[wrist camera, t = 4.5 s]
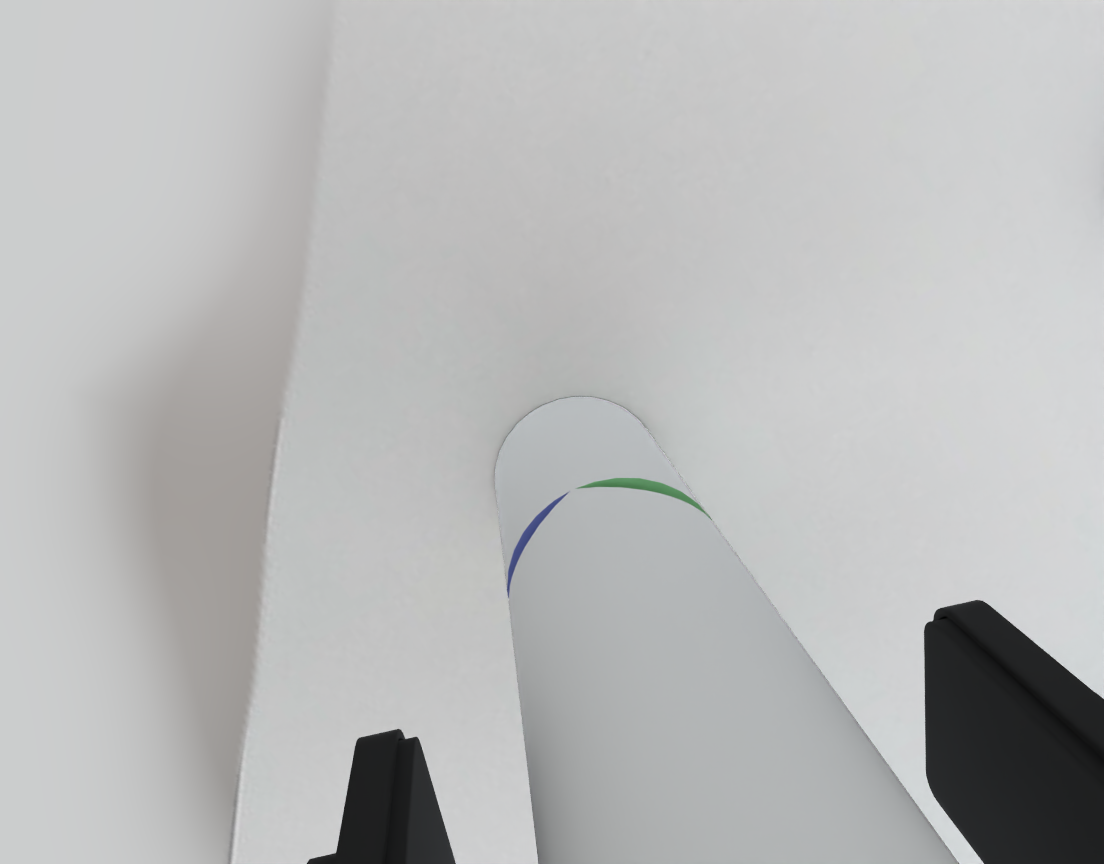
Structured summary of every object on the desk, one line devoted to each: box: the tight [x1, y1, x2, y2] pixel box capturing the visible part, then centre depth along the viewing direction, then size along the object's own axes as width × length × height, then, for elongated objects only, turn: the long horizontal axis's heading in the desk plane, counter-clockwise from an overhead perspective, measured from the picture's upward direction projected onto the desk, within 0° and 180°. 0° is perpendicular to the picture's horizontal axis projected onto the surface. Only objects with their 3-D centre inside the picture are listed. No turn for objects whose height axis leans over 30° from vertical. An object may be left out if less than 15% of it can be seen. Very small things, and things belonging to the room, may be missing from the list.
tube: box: [495, 397, 959, 864], centre depth 13 cm, size 4×4×15 cm
